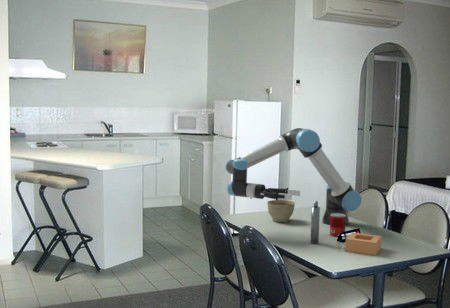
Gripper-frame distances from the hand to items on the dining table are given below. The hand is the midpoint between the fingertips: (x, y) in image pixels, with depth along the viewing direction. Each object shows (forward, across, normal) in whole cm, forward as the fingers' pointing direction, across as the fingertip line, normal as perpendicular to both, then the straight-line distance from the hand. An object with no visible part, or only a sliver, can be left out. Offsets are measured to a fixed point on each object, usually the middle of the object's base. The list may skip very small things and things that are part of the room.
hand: (295, 195), depth 271 cm
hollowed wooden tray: (+34, -1, -23) cm, 41 cm away
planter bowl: (-22, -40, -23) cm, 51 cm away
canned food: (+16, -23, -23) cm, 36 cm away
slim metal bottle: (+10, -1, -23) cm, 25 cm away
